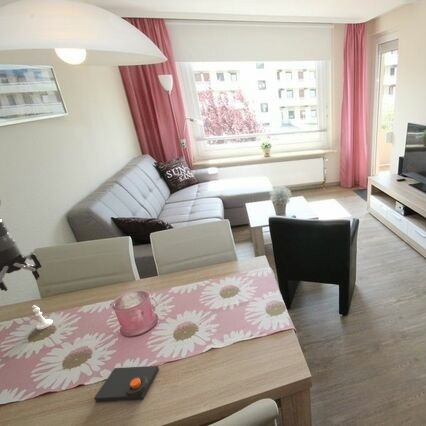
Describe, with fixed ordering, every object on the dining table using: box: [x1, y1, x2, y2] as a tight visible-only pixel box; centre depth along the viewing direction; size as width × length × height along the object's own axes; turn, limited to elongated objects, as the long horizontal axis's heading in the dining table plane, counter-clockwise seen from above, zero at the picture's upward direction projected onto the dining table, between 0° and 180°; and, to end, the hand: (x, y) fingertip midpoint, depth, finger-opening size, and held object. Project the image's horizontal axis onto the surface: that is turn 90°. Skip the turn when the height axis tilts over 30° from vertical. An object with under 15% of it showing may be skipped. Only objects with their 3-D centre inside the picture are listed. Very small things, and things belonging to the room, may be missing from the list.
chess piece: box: [31, 304, 53, 331], centre depth 115 cm, size 5×5×10 cm
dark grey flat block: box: [94, 365, 160, 403], centre depth 91 cm, size 10×14×4 cm
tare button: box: [130, 378, 141, 389], centre depth 88 cm, size 3×3×2 cm
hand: (22, 284), depth 109 cm, fingers open, 8 cm apart
